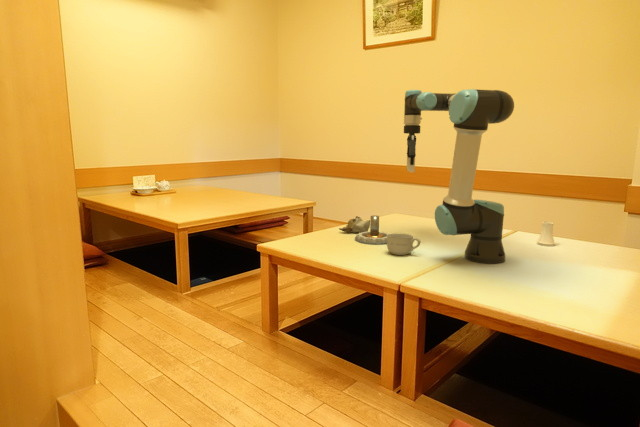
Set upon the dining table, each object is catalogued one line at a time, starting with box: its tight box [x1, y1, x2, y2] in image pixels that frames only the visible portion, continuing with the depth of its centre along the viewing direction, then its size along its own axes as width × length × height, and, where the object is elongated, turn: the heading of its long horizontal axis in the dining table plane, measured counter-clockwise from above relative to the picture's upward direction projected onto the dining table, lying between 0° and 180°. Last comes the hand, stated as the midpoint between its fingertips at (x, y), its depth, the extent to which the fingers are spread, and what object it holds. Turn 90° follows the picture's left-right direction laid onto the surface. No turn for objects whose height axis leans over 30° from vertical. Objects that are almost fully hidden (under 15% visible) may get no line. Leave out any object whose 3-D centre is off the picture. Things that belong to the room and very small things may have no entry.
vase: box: [536, 221, 556, 247], centre depth 197 cm, size 8×8×10 cm
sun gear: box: [365, 214, 384, 238], centre depth 204 cm, size 9×9×10 cm
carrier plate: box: [354, 231, 389, 246], centre depth 205 cm, size 18×18×2 cm
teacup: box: [386, 232, 421, 256], centre depth 180 cm, size 14×11×8 cm
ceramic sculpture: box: [338, 216, 370, 234], centre depth 220 cm, size 11×9×15 cm
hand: (410, 171), depth 206 cm, fingers open, 13 cm apart
